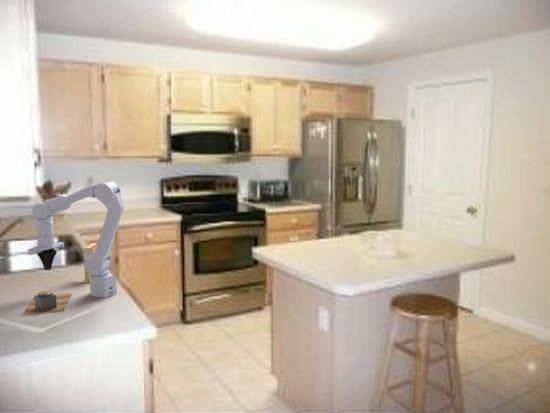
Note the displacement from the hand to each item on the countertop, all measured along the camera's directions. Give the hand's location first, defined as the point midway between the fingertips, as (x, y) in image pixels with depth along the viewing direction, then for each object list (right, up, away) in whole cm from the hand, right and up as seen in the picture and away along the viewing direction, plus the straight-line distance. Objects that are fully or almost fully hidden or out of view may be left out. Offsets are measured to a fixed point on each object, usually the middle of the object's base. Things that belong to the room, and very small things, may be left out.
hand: (47, 269), depth 178 cm
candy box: (+9, -8, +21) cm, 24 cm away
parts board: (+5, -12, -10) cm, 17 cm away
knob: (+7, -11, -15) cm, 20 cm away
